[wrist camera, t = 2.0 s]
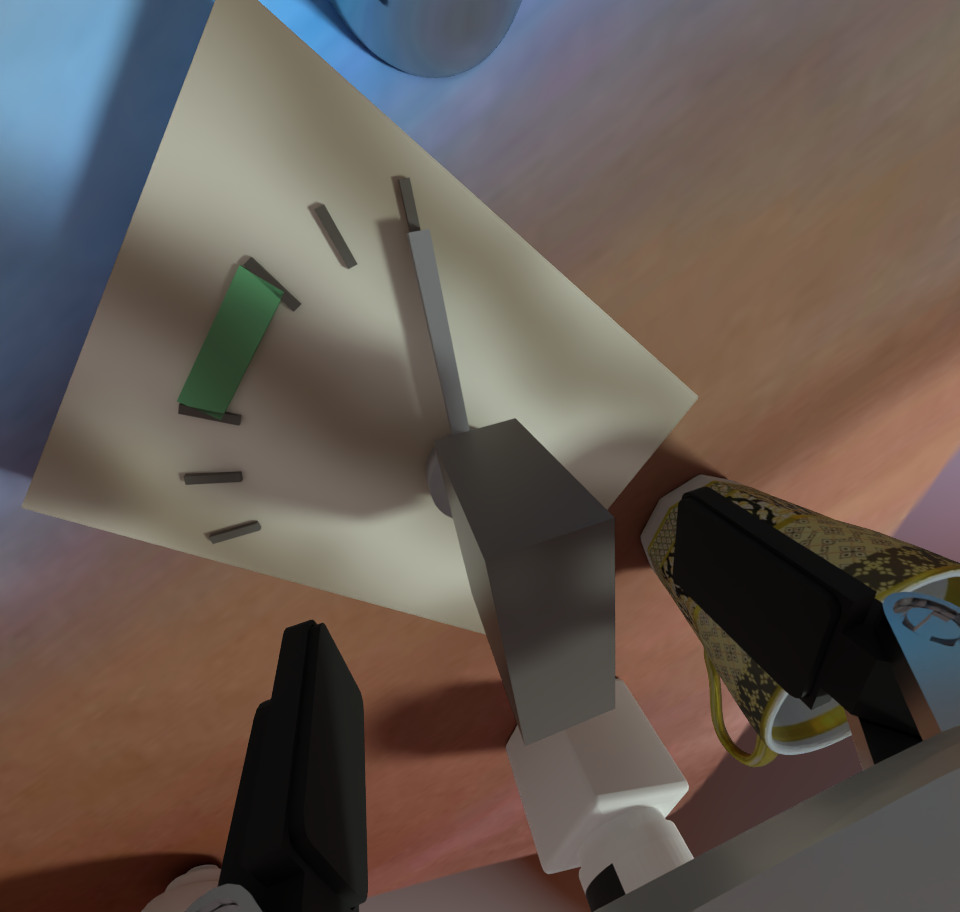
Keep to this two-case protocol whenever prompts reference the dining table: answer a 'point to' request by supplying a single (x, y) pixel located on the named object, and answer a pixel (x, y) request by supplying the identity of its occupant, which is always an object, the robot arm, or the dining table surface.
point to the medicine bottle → (602, 800)
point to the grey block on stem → (524, 547)
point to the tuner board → (323, 342)
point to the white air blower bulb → (185, 889)
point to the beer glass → (429, 31)
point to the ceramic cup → (756, 693)
